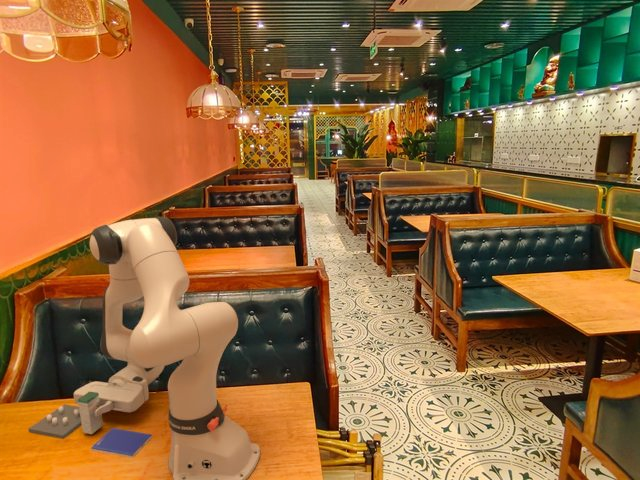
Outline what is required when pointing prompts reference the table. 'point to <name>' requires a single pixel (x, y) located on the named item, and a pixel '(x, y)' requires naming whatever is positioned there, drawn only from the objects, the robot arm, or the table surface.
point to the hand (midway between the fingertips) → (87, 412)
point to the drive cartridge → (89, 412)
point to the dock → (59, 422)
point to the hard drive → (121, 442)
